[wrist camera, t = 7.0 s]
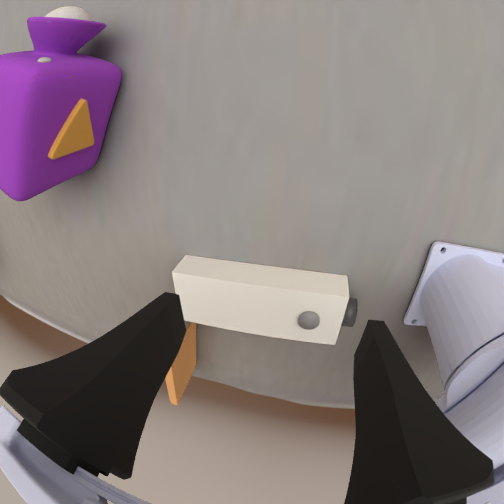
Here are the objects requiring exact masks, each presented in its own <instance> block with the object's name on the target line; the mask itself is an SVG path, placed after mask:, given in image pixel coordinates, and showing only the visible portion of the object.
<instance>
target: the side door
mask: <svg viewBox="0 0 504 504" xmlns="http://www.w3.org/2000/svg"><path fill="white" fill-rule="evenodd" d="M184 321H185V320H184ZM185 326H186V334H185V337H184V339H183V342H182V345H181V347H180V350H179V353H178V354H177V356H176V358H175V360H174V362H173V364H172V366H171V368H170V370H169V372H168V374H167V375H166V377H165V378H166V383H167V388H168V393H169V398H170V402H171V403H172V404H175V405H178V403H179V401H180V399H181V397H182V395H183V393H184V390H185V388H186V386H187V384H188V382H189V380H190V378H191V375H192V373H193V371H194V369H195V367H196V323H194V322H189V321H185Z"/></svg>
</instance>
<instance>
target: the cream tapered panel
mask: <svg viewBox="0 0 504 504" xmlns="http://www.w3.org/2000/svg"><path fill="white" fill-rule="evenodd" d="M172 276H173V281H174V287H175V292H176V294H178V295H179V297H180V302H181V307H182V312H183V317H184V320H185V321H189V322H194V323H199V324H203V325H208V326H213V327H218V328H223V329H229V330H234V331H239V332H245V333H251V334H257V335H263V336H269V337H276V338H283V339H290V340H297V341H305V342H313V343H321V344H331V345H335V343H336V340H337V337H338V334H339V331H340V328H341V326H349V327H352V326H353V325H354V323H355V319H356V314H357V300H356V299H353V298H349V288H348V278H347V276H346V275H338V274H330V273H321V272H313V271H305V270H297V269H289V268H281V267H273V266H266V265H258V264H250V263H242V262H235V261H227V260H220V259H212V258H205V257H198V256H190V255H185V256H184V258H183V259H182V260H181V261H180V263H179V264H178V265H177V266H176V268H175V269H174V270H173V271H172Z"/></svg>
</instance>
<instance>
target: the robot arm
mask: <svg viewBox="0 0 504 504" xmlns="http://www.w3.org/2000/svg"><path fill="white" fill-rule="evenodd" d="M443 247H444V250H443V251H440V250H441V249H442V248H443ZM502 260H503V261H502ZM414 319H415V320H414ZM413 320H414V321H413ZM404 323H405V324H406V325H416V326H427V329H428V332H429V335H430V338H431V342H432V345H433V348H434V352H435V355H436V359H437V363H438V367H439V371H440V375H441V379H442V383H443V388H444V393H443V395H442V396H441V397H440V398H439V399H438V400H437V403H438V406H437V405H436V404H435V402H434V401H433V400H432V398H431V397H430V396H429V394H428V393H427V392H426V390H425V389H424V387H423V386H422V384H421V383H420V381H419V380H418V378H417V377H416V375H415V373H414V372H413V370H412V368H411V367H410V365H409V363H408V362H407V360H406V359H405V357H404V355H403V353H402V352H401V350H400V348H399V347H398V345H397V343H396V341H395V340H394V338H393V336H392V334H391V333H390V331H389V329H388V327H387V326H386V324H385V322H384V321H377V320H368V322H367V325H366V328H365V330H364V333H363V335H362V338H361V340H360V343H359V345H358V348H357V350H356V352H355V355H354V377H353V380H354V397H355V415H356V416H355V417H356V439H355V449H354V457H353V464H352V470H351V476H350V482H349V487H348V491H347V495H346V499H345V503H344V504H504V253H499V252H494V251H489V250H484V249H478V248H473V247H468V246H462V245H456V244H451V243H445V242H439V241H437V242H434V243H433V244H432V246H431V249H430V252H429V255H428V258H427V261H426V264H425V266H424V269H423V272H422V275H421V277H420V280H419V283H418V285H417V288H416V291H415V293H414V296H413V298H412V300H411V303H410V305H409V308H408V310H407V312H406V314H405V317H404ZM185 334H186V326H185V321H184V317H183V312H182V307H181V302H180V297H179V295H178V294H173V293H168V292H165V293H163V294H162V295H160V296H159V297H158V298H156V299H155V300H153V301H152V302H151V303H149V304H148V305H147V306H145V307H144V308H143V309H141V310H140V311H138V312H137V313H136V314H134V315H133V316H131V317H130V318H129V319H127V320H126V321H124V322H123V323H121V324H120V325H118V326H117V327H115V328H114V329H112V330H111V331H109V332H108V333H106V334H105V335H103V336H101V337H100V338H98V339H96V340H95V341H93V342H91V343H89V344H87V345H85V346H83V347H81V348H79V349H77V350H75V351H73V352H71V353H68V354H66V355H64V356H61V357H59V358H57V359H54V360H51V361H48V362H45V363H42V364H39V365H35V366H31V367H27V368H23V369H18V370H13V371H12V372H11V373H10V375H9V376H8V377H7V379H6V380H5V382H4V383H3V384H2V386H1V387H0V395H1V397H2V398H3V399H4V400H5V401H6V402H7V403H8V404H9V405H10V406H11V407H13V409H15V411H17V412H18V413H19V414H20V415H21V416H22V417H23V418H24V419H23V421H22V422H21V421H20V420H19V419H17V418H16V417H15V416H14V415H13V414H12V413H11V412H10V411H9V410H8V409H7V408H6V407H5V406H2V407H1V408H0V468H1V470H2V471H3V472H4V474H5V475H6V477H7V478H8V479H9V481H10V482H11V484H12V485H13V486H14V488H15V489H16V490H17V491H18V493H19V494H20V495H21V496H22V498H23V499H24V500H25V501H26V503H27V504H108V503H107V500H109V501H111V502H113V503H115V504H150V503H148V502H146V501H143V500H141V499H139V498H137V497H134V496H132V495H130V494H128V493H126V492H124V491H122V490H120V489H118V488H116V487H114V486H112V485H110V484H108V483H106V482H105V481H103V480H101V479H99V478H98V474H99V473H101V474H103V475H105V476H108V475H109V473H112V474H114V475H115V476H117V477H119V478H122V479H128V478H130V477H131V476H132V470H133V465H134V461H135V456H136V452H137V449H138V445H139V441H140V438H141V435H142V431H143V428H144V425H145V422H146V419H147V416H148V414H149V411H150V409H151V406H152V403H153V401H154V399H155V397H156V394H157V392H158V390H159V388H160V387H161V385H162V383H163V381H164V379H165V377H166V375H167V374H168V372H169V370H170V368H171V366H172V364H173V362H174V360H175V358H176V356H177V354H178V353H179V350H180V347H181V345H182V342H183V339H184V337H185Z"/></svg>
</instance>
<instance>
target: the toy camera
mask: <svg viewBox="0 0 504 504" xmlns="http://www.w3.org/2000/svg"><path fill="white" fill-rule="evenodd" d="M27 24H28V29H29V33H30V36H31V39H32V42H33V45H34V49H35V50H34V51H23V52H15V53H8V54H3V55H0V189H1V190H2V191H3V192H4V193H5V194H7V195H8V196H9V197H10V198H12V199H14V200H16V201H25V200H28V199H30V198H32V197H34V196H36V195H38V194H40V193H42V192H44V191H46V190H48V189H50V188H52V187H54V186H56V185H58V184H60V183H62V182H64V181H66V180H68V179H70V178H72V177H75V176H77V175H79V174H81V173H83V172H85V171H87V170H89V169H90V168H91V167H93V166H94V164H95V163H96V161H97V159H98V156H99V153H100V150H101V146H102V142H103V138H104V135H105V131H106V128H107V124H108V121H109V117H110V114H111V111H112V108H113V104H114V101H115V98H116V95H117V92H118V89H119V86H120V82H121V78H122V72H121V70H120V68H119V67H118V66H116V65H115V64H113V63H111V62H108V61H106V60H103V59H99V58H96V57H92V56H89V55H85V54H80V53H76V52H77V51H78V50H79V49H80V48H81V47H82V46H84V45H85V44H86V43H87V42H89V41H90V40H91V39H92V38H94V37H95V36H96V35H97V34H98V33H100V32H101V31H102V30H103V29H104V28H105V27H106V24H104V23H100V22H94V21H91V18H90V16H89V14H88V13H87V12H86V11H84V10H83V9H81V8H78V7H74V6H67V7H61V8H58V9H56V10H53V11H52V12H50V13H48V14H47V15H46V16H45V17H30V18H28V20H27Z"/></svg>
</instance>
